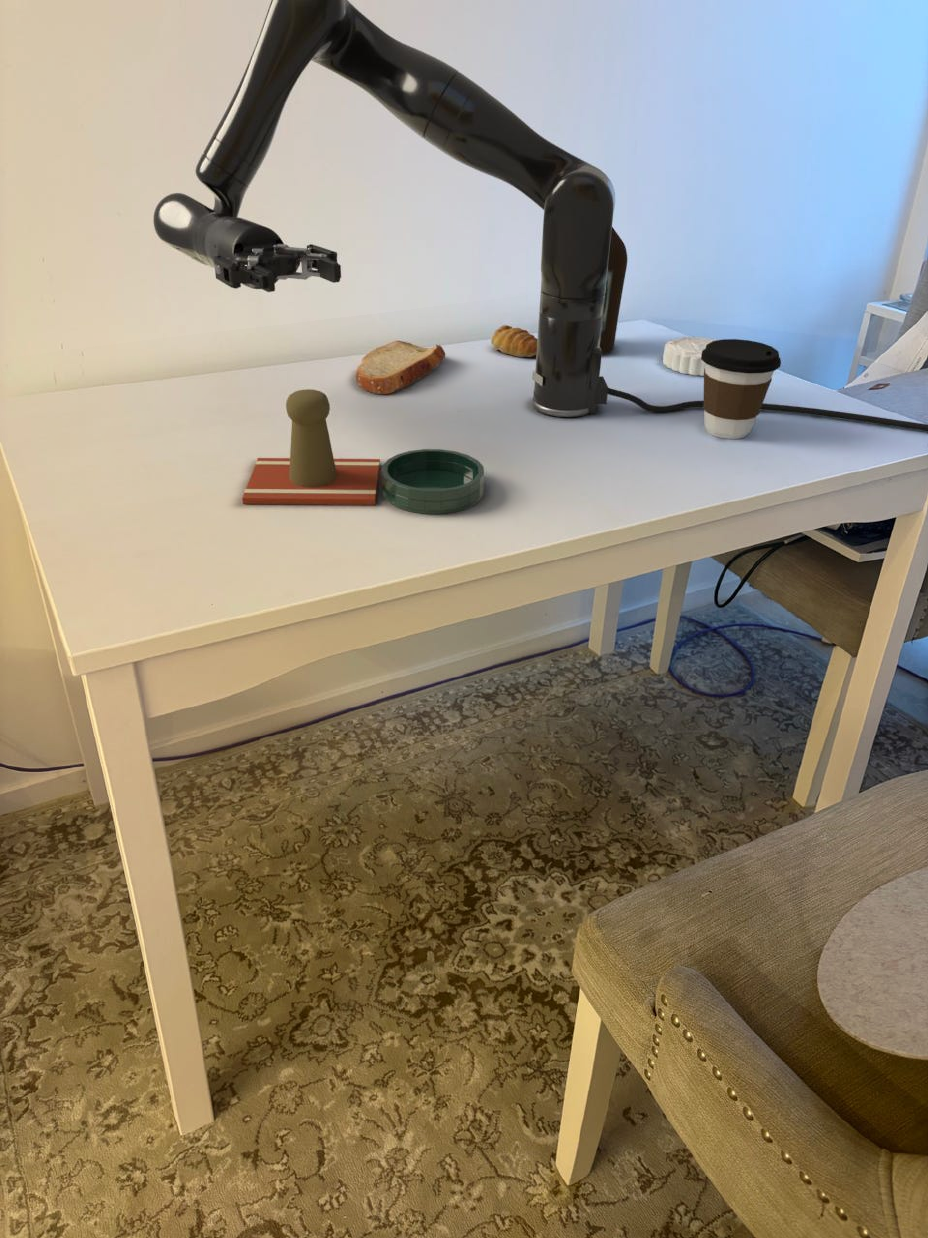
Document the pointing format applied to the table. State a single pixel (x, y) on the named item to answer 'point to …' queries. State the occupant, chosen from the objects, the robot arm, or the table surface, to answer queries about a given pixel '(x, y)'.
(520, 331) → the pastry
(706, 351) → the coffee cup
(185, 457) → the table surface
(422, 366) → the slice of bread
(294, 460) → the cork
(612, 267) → the olive oil
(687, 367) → the mooncake
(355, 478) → the towel
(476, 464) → the dish
